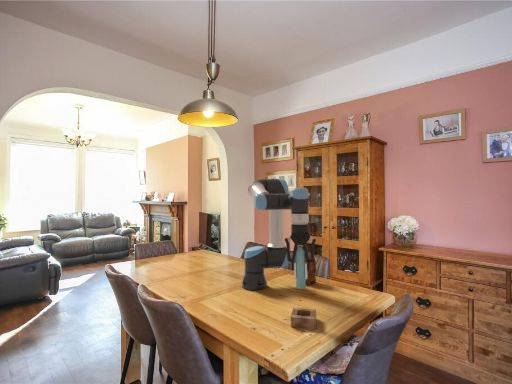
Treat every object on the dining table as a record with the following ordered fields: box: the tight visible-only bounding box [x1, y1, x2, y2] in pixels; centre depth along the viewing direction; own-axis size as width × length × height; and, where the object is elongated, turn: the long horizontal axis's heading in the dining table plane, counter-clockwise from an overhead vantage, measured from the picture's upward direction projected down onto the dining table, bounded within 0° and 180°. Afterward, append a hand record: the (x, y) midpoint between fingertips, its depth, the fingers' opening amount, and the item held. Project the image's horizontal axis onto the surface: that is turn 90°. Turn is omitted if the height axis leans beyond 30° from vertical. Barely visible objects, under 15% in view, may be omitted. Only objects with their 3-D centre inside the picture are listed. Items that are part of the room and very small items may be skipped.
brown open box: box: [290, 307, 317, 330], centre depth 115 cm, size 10×10×4 cm
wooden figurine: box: [305, 253, 317, 286], centre depth 169 cm, size 12×6×18 cm, turn 124°
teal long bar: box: [295, 245, 307, 290], centre depth 117 cm, size 4×4×18 cm
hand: (300, 277), depth 117 cm, fingers closed on teal long bar, 4 cm apart
